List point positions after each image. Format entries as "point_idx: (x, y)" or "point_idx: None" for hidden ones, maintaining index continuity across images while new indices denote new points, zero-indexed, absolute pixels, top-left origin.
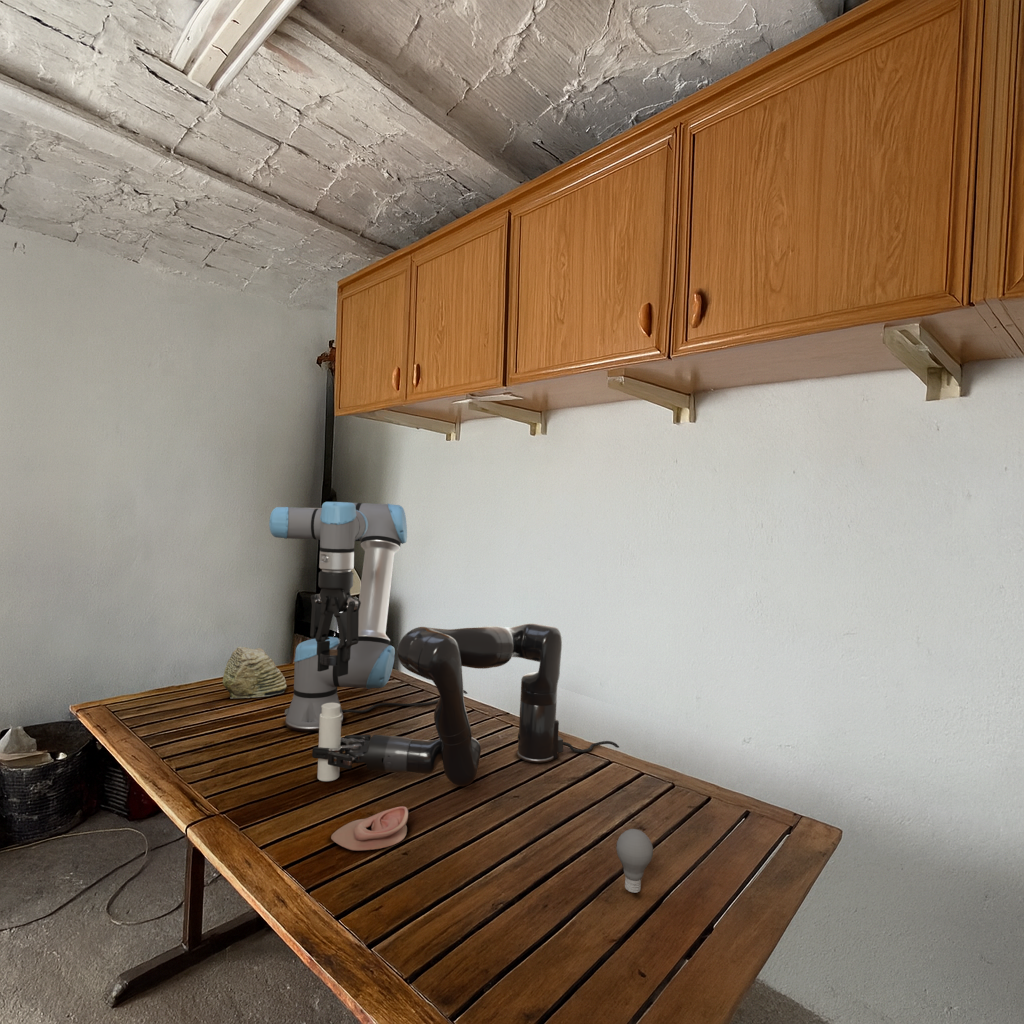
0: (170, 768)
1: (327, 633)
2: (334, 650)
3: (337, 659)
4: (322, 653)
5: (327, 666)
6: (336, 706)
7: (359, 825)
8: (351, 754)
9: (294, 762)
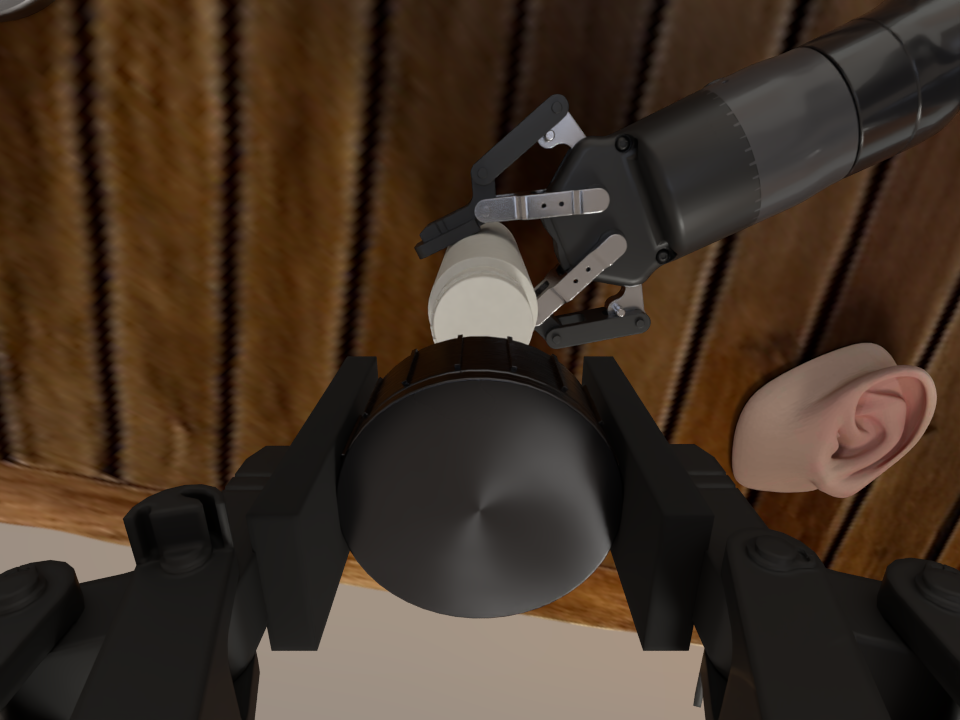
0: (94, 480)
1: (224, 644)
2: (414, 443)
3: None
4: (425, 597)
5: (373, 384)
6: (521, 321)
7: (826, 477)
8: (613, 284)
9: (304, 245)
